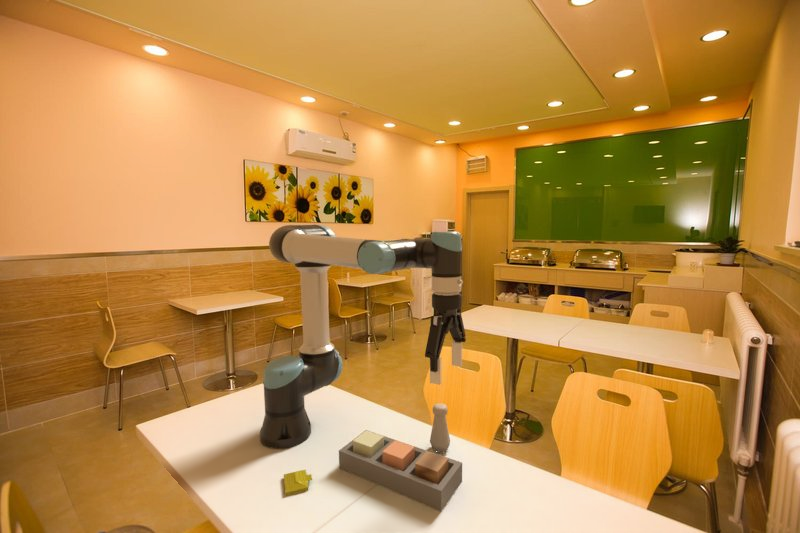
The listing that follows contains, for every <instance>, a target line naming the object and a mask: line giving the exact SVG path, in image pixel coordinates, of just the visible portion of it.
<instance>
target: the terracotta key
mask: <svg viewBox="0 0 800 533" xmlns="http://www.w3.org/2000/svg"><path fill="white" fill-rule="evenodd" d="M394 440H395V441H394V442H393V443H391V444H390V445H389V446H388V447H387V448H386V449H385V450H384V451H382V455H383V464H386V465H388V466H391V467H394V468H396V469H399V470H401V471H403V470H404V469H405V468H406V467H407V466H408V465H409V464H410V463H411V462H412V461H413V460H414V459H415V447H416V446H415V445H412V444H409V443H406V444H405V442H403V443H402V441H400V442H399V440H397V439H394ZM396 440H397V441H396ZM408 444H409V445H408ZM411 445H412V446H411ZM414 446H415V447H414Z"/></svg>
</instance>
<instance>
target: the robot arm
mask: <svg viewBox="0 0 800 533" xmlns="http://www.w3.org/2000/svg"><path fill="white" fill-rule="evenodd" d="M462 244H463V242H462V235H461V233H460V232H459V231H433V232H432V233H431V236H430V238H428V239H421V238H420V239H419V238H418V239H417V238H414V239H413V238H401V239H399V238H398V239H395V240H376V239H367V238H366V239H363V238H352V237H341V236H336V234H335V232H334V231H332V229H331V228H330V227H329V226H326V225H320V224H287V225H283V226H280V227H278V228H277V229H275V230H274V231H273V232H272V234H271V236H270V238H269V242H268V247H269V251H270V254H271V255H272V256H273V257H274V258H275V259H276V260H278V261H279V262H282V263H286V264H294V268H295V269H297V271H299V275H300V277H299V278H300V292H301V293H300V297H301V298H300V299H301V317H302V319H301V320H302V340H303V341H302V342H303V343H302V345H301V346H300V347H299V349H298V355H299V356H298V355H286V356H281V357H278V358H276V359H273V360H272V361H270V362H269V363H267V364H266V366H265V367H264V369H263V379H262V385H263V393H264V394H263V395H264V411H265V412H264V418H263V420H262V421H263V422H262V426H261V429H260V431H259V439H260V440H259V441H260V443H261V444H262V445H263V446H265V447H266V448H270V449H277V450H278V449H285V448H292V447H296V446H297V445H300V444H302V443H304V442H305V441H306V440H308V439H309V437H310V435H311V433H312V423H311V421H310V419H309V415H308V413H307V411H306V408H305V396H307V395H309V394H312V393H314V392H316V391H318V390H320V389H322V388H325V387H327V386H330V385H331V384H332V383H334V382H336V381H337V380H338V379H339V377H341V375H342V371H343V359H342V356H340V353H339V351H338V349H336V348H335V344H333V343H332V342H331V338H330V337H331V336H330V317H329V315H330V314H329V313H330V312H329V311H330V310H329V289H328V288H329V286H328V283H329V282H328V271H329V269H331V267H332V266H337V267H344V268H352V269H358V270H363V272H365V273H367V274H369V275H370V274H371V275H382V274H385V273H390V272H395V271H401V270H407V269H417V268H418V269H431V292H433V293H432V294H431V307H432V308H433V309H435V310H436V311H437V312H436V316H435V315H431V317H430V327H429V332H428V337H427V342H426V347H425V352H424V357H425V358H429V383H430V384H434V385H437V386H438V385H439V386H441V385H442V357H440V356H441V353H442V350H443V346H444V342H445V338H446V335H447V334H449V333H450V335H451V338H452V340H453V341H451V366H453V367H459V368H461V367H463V343H466V340H467V339H466V330H465V326H464V322H463V317H462V305H463V304H462V299H463V294H461V292H462V288H463V287H462V285H463V284H464V281H463V280H462V264H463V263H462V262H463V261H462V259H463V258H462V257H463V256H462V255H463V246H462Z"/></svg>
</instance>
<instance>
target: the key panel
mask: <svg viewBox="0 0 800 533" xmlns="http://www.w3.org/2000/svg"><path fill="white" fill-rule="evenodd" d="M366 430H367V429H366ZM366 430H364V431H362V433H364V432H365V431H366ZM367 431H370V432H373V433H376V432H374V431H371V430H367ZM362 433H360V434H359V435H357V436H356V437H355V438H353V439H352V440H351V441H350V442H348V443H347V444H346V445H344V446H343V447H341V448H340V449H339V450H338V468H339V469H340V470H343V471H344V472H347V473H349V474H351V475H354V476H357V477H359V478H361V479H364V480H366V481H368V482H370V483H372V484H375V485H377V486H380V487H382V488H384V489H387V490H389V491H392V492H394V493H396V494H399V495H401V496H403V497H406V498H408V499H411V500H413V501H415V502H417V503H420V504H422V505H425V506H427V507H429V508H431V509H433V510H436V511H439V512H442V511H443V510H444V509H445V507H446V505H447V504H448V503H449V501H450V500H451V498H452V497H453V496H454V494H455V493H456V491H457V489H459V487H460V485H461V483H462V482H463V462H461V461H459V460H455V459H452V458H449V457H447V456H444V455H441V454H438V453H436V452H435V453H434V452H432V451H430V450H427V449H423V448H420V447H418V446H415V445H412V444H410V443H405V442H402V441H399V440H397V439H395V438H391V437H388V436H385V435H382V434H380V433H376V434H379V435H381V436H384V447H383V448H382V449H381V450H380V451H378V452H377V453H376V454H375V455H374V456H373V457H372V458H368V457H365V456H363V455H360V454H357V453H355V452H353V440H354V439H356V438H357V437H358V436H360V435H361V434H362ZM395 440H396V441H399V442H402V443H405V444H408V445H411V446H414V447H415V459H414V460H413V461H412V462H411V463H410V464H409V465H408V466H407V467H406V468H405V469H404V470H403V471H401V470H399V469H396V468H394V467H391V466H388V465H386V464H383V455H382V451H384V450H385V449H386V448H387V447H388V446H389V445H390V444H391V443H393V442H394V441H395ZM426 451H428V452H431V453H434V454H437V455H440V456H443V457H446V458H448V472H447V473H446V474H445V476H444V477H443V478H442V480H441V481H440V482H439V483H438V485H437V484H435V483H432V482H430V481H427V480H425V479H422V478H419V477H417V476H415V463H416V462H417V461H418V460H419V459H420V458H421V457H422V456H423V455H424V454H425V452H426Z"/></svg>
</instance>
